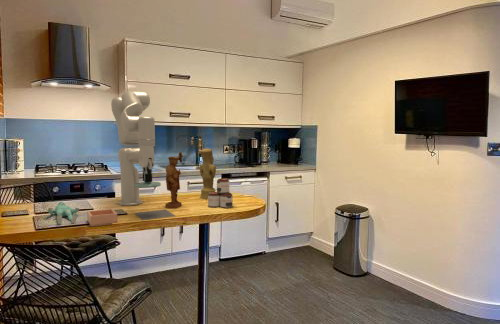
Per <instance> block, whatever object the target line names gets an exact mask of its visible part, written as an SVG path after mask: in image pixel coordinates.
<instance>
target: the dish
mask: <svg viewBox="0 0 500 324" xmlns="http://www.w3.org/2000/svg"><path fill="white" fill-rule="evenodd" d="M86 213H87V222H89V223H88V225H89V226H90V227H100V226H106V225H108V226H109V225H113V224H116V223H118V212H117V211H115V210H114V209H113V208H107V209H106V208H105V209H97V210H95V209H94V210H87V212H86Z"/></svg>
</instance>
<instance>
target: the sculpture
mask: <svg viewBox="0 0 500 324" xmlns="http://www.w3.org/2000/svg"><path fill="white" fill-rule="evenodd" d="M183 157H184V155H183V153H182V152H181V151H179V152H178V156H168V157H167V159H168V162H169V164H167V166H166V168H165V172H166V175H165V185H166V191H169V192H170V195H171V196H170V199H171V200H170V201H169V202H167V203H165V207H164V208H165V209H173V210H175V209H179V208H181V207H182V206H183V205H182V202H180V201H179V200H178V191H180V190H181V185H180V184H181V182H180V176H181V175H182V173H181V168H179V169H177V165H178V164H179V163H183Z"/></svg>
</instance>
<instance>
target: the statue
mask: <svg viewBox="0 0 500 324" xmlns="http://www.w3.org/2000/svg"><path fill="white" fill-rule="evenodd" d="M200 155H201V159H202V163H201V164H199V167H198V168H199V173H200V176H201V179H202V185H203V188H201V189H200V192H201V193H200V196H199V199H202V200H208V194H209V193H210V192H216V189H215V188H214V178H215V177H216V173H217V168H216V165H215V164H214V160H215V159H214V155H213V150H212V149H211V148H204V149H201V150H200Z"/></svg>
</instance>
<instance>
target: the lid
mask: <svg viewBox="0 0 500 324" xmlns="http://www.w3.org/2000/svg"><path fill="white" fill-rule="evenodd" d="M145 174H146V171H144V181H139V182H138V183H135V184H134V186H135V187H139V189H140V188H141V189H148V188H157V187H160V186H161V185H162V184H161V182H160V181H152V182H145Z"/></svg>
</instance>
